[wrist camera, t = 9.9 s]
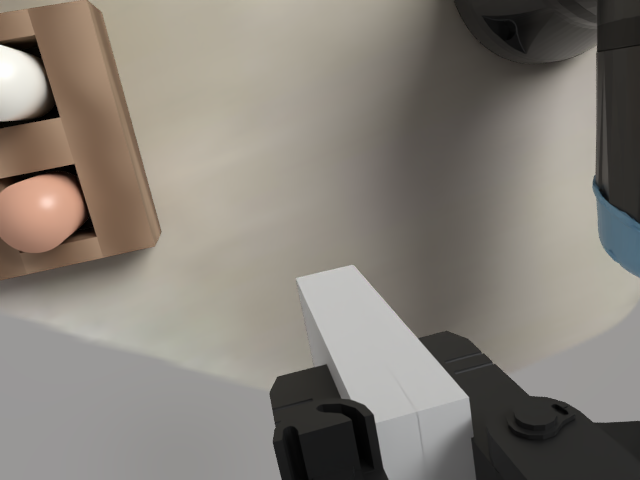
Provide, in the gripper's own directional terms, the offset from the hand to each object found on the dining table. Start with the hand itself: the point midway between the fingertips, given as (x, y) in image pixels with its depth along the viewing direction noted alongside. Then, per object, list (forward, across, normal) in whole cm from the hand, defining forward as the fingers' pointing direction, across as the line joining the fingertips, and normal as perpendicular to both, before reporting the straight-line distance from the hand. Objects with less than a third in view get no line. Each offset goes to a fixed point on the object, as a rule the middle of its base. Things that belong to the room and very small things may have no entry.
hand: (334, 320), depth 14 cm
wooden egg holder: (+29, +14, -6) cm, 33 cm away
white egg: (+28, +14, -10) cm, 33 cm away
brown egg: (+28, +14, -2) cm, 31 cm away
